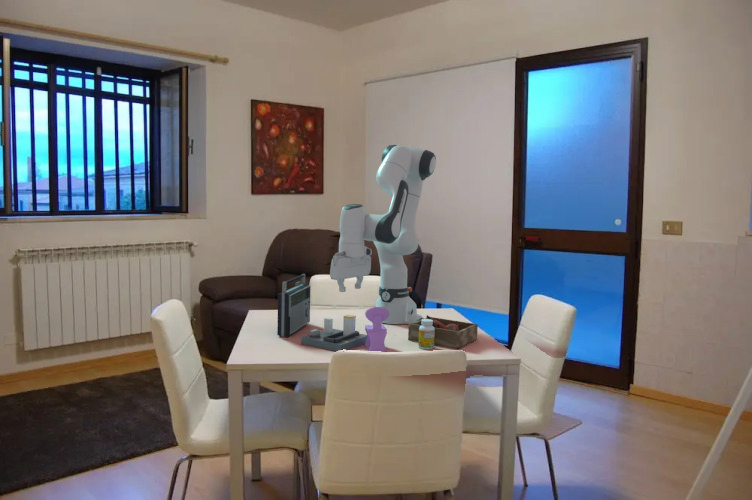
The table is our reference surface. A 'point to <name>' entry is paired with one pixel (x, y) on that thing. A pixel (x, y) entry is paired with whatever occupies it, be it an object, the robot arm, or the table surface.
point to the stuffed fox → (442, 326)
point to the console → (333, 338)
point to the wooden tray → (447, 333)
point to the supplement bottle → (426, 334)
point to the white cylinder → (349, 324)
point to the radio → (293, 307)
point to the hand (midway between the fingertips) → (350, 290)
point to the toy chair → (376, 328)
